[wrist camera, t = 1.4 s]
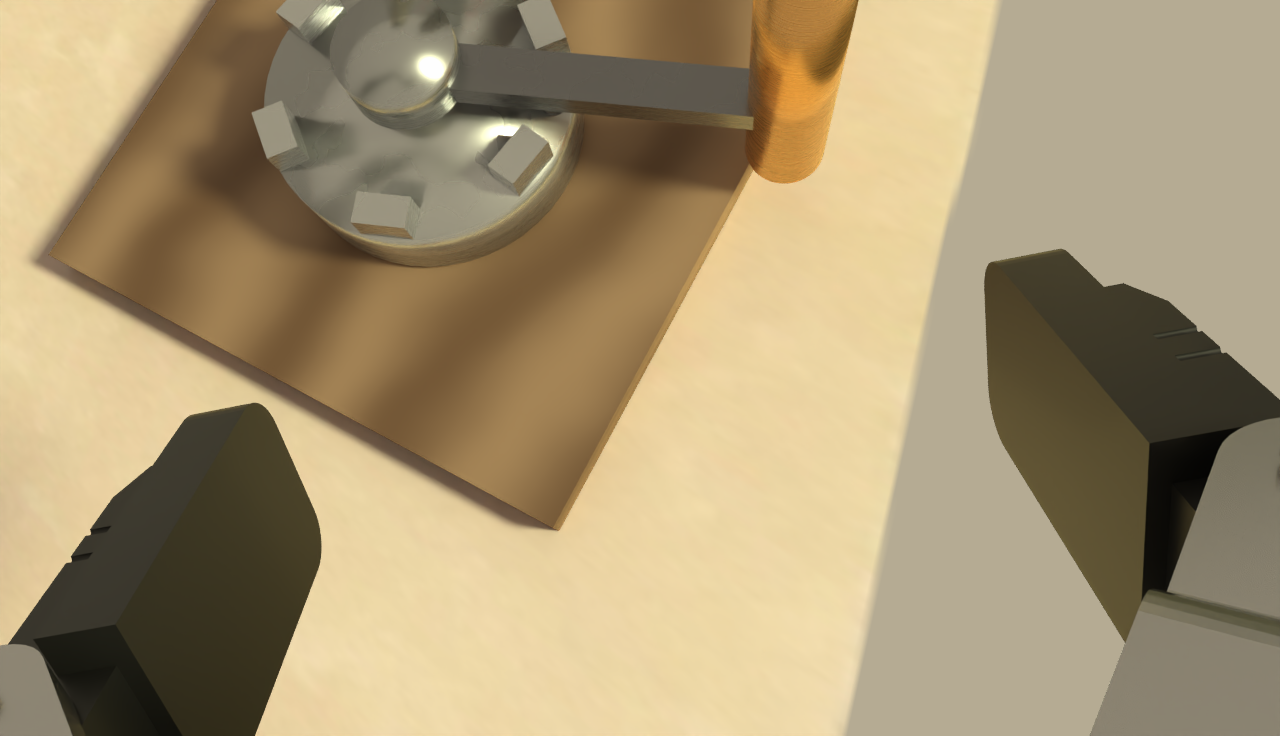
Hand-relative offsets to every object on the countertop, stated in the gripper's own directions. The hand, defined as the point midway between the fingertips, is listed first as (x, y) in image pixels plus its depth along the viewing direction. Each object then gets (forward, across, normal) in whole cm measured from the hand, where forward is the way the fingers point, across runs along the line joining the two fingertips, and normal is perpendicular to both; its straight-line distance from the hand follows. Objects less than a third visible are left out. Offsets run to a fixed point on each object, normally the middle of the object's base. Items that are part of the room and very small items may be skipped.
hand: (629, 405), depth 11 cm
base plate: (+33, +8, +5) cm, 34 cm away
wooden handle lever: (+31, +4, +5) cm, 31 cm away
